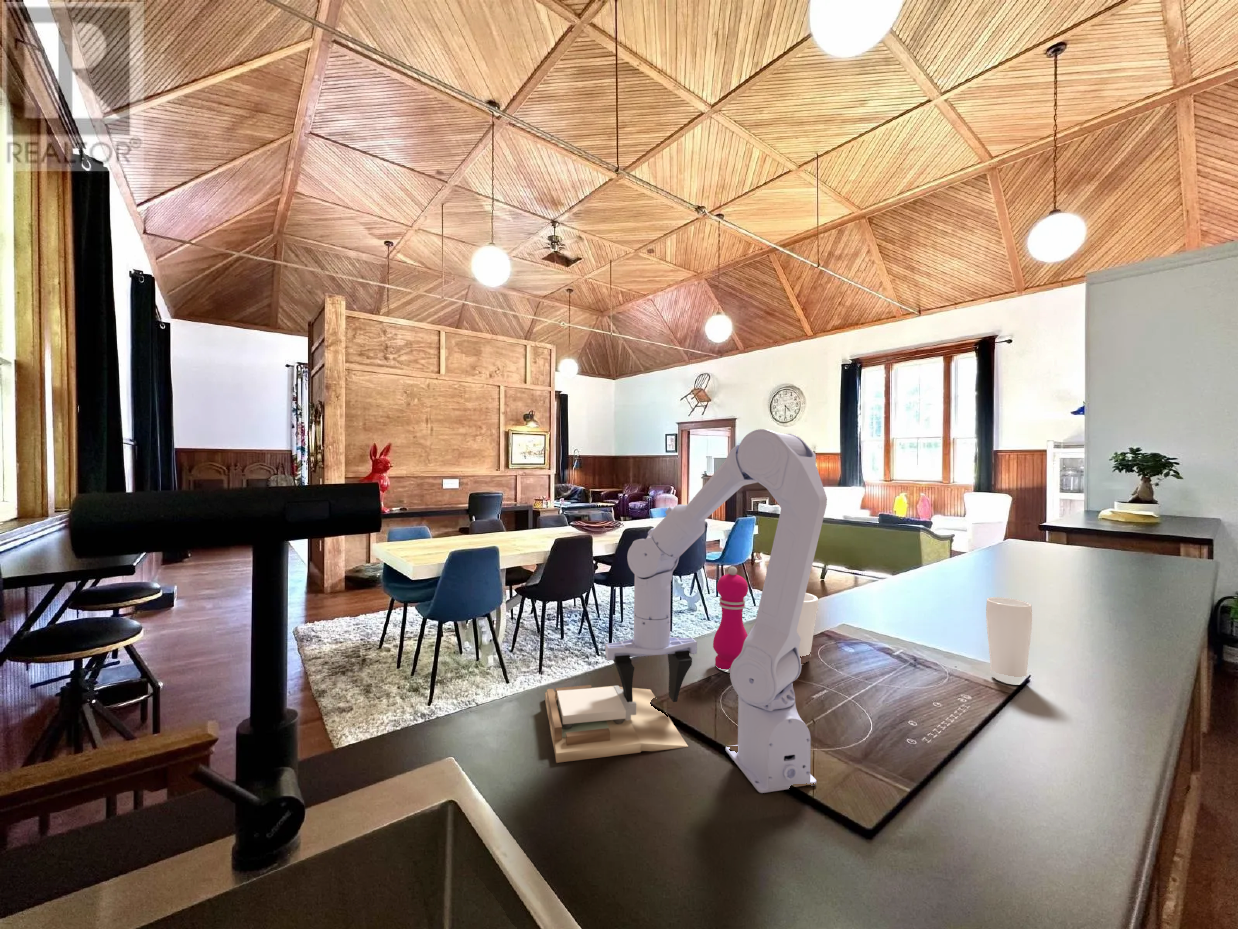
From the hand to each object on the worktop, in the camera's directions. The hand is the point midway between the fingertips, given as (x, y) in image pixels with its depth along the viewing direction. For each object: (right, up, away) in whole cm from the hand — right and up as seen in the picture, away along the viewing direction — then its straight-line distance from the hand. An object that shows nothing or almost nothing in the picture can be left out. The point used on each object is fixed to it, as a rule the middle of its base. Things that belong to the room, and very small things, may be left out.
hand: (650, 701), depth 76 cm
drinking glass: (+69, -4, +15) cm, 70 cm away
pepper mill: (+17, -3, +20) cm, 26 cm away
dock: (-6, -3, -2) cm, 7 cm away
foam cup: (+31, -3, +25) cm, 40 cm away
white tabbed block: (-9, -1, -2) cm, 10 cm away
